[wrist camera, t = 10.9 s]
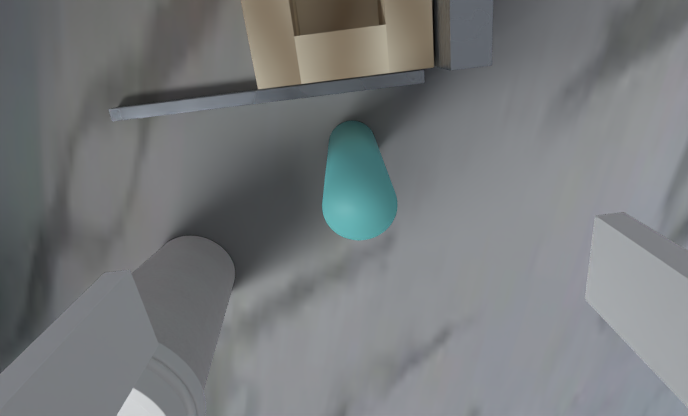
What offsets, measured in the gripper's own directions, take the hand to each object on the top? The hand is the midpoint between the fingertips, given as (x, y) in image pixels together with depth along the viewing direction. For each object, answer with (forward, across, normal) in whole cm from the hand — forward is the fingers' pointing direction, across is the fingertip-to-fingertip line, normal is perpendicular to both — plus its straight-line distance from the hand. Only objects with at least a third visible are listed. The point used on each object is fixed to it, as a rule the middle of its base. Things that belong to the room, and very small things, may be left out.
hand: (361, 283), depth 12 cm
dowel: (+19, 0, 0) cm, 19 cm away
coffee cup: (+19, -14, -9) cm, 25 cm away
